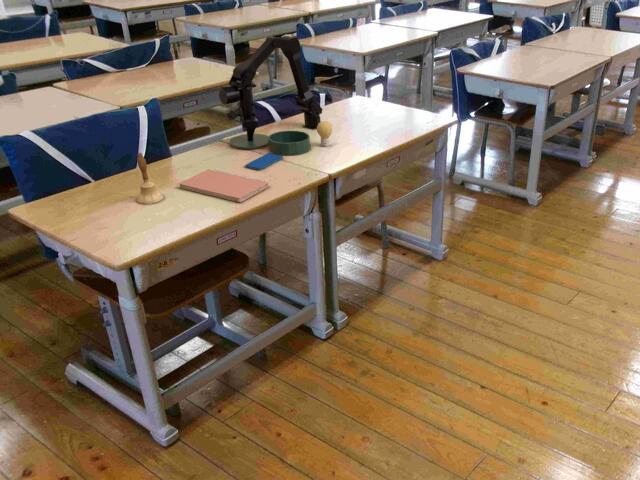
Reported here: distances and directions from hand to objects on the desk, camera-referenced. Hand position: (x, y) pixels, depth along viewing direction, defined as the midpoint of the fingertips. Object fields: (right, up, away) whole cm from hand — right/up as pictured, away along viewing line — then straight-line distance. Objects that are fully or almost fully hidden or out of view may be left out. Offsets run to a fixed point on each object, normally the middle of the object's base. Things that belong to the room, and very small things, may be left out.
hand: (250, 137), depth 262 cm
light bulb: (+31, -3, 0) cm, 31 cm away
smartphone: (+10, -14, -18) cm, 25 cm away
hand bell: (-22, -33, -48) cm, 63 cm away
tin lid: (0, -1, +1) cm, 2 cm away
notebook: (0, -28, -39) cm, 47 cm away
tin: (+17, -6, -4) cm, 18 cm away
